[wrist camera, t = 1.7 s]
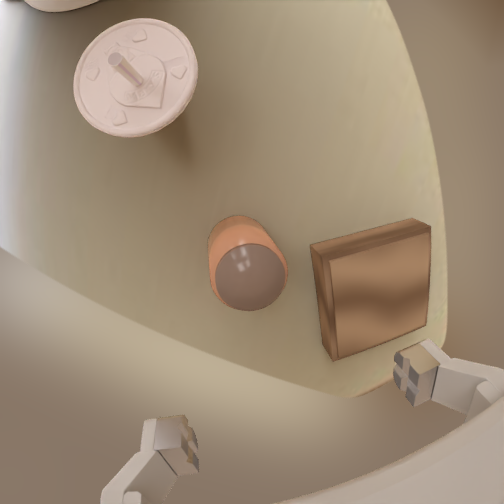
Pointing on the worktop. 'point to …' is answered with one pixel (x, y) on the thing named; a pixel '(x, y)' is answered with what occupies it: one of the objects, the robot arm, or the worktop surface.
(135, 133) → the smoothie
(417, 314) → the plinth
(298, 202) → the worktop surface
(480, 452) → the robot arm
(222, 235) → the jar
